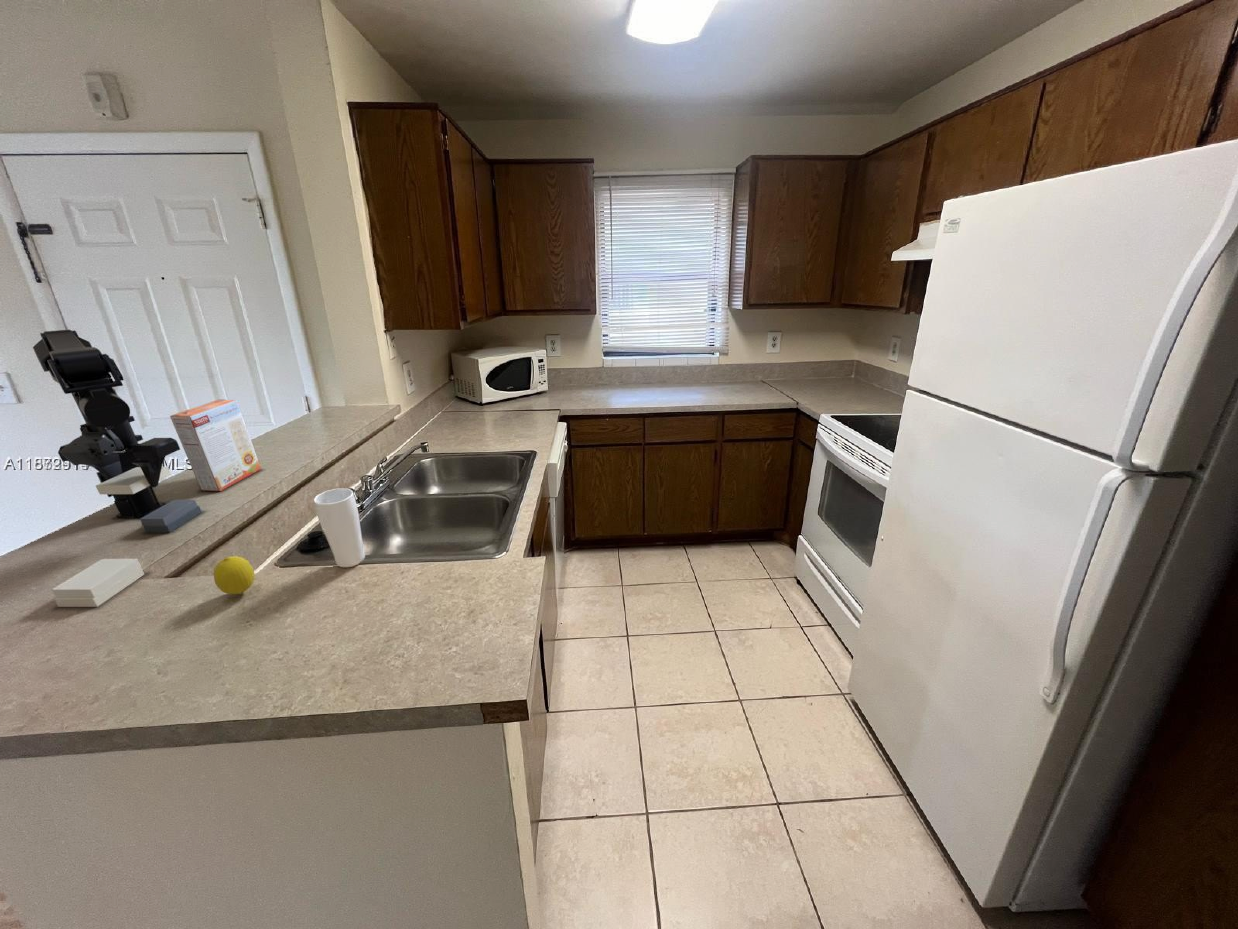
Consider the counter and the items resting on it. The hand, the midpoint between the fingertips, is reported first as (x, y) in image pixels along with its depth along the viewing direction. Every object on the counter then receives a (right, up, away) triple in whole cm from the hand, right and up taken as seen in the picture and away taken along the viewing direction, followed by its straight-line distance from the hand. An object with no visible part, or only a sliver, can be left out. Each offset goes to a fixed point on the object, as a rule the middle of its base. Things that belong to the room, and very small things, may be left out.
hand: (137, 487), depth 98 cm
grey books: (-2, -9, +11) cm, 14 cm away
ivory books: (+5, -19, -11) cm, 22 cm away
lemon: (+31, -19, -12) cm, 38 cm away
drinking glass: (+46, -15, -2) cm, 48 cm away
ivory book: (0, +1, 0) cm, 1 cm away
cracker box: (-5, 0, +31) cm, 31 cm away
